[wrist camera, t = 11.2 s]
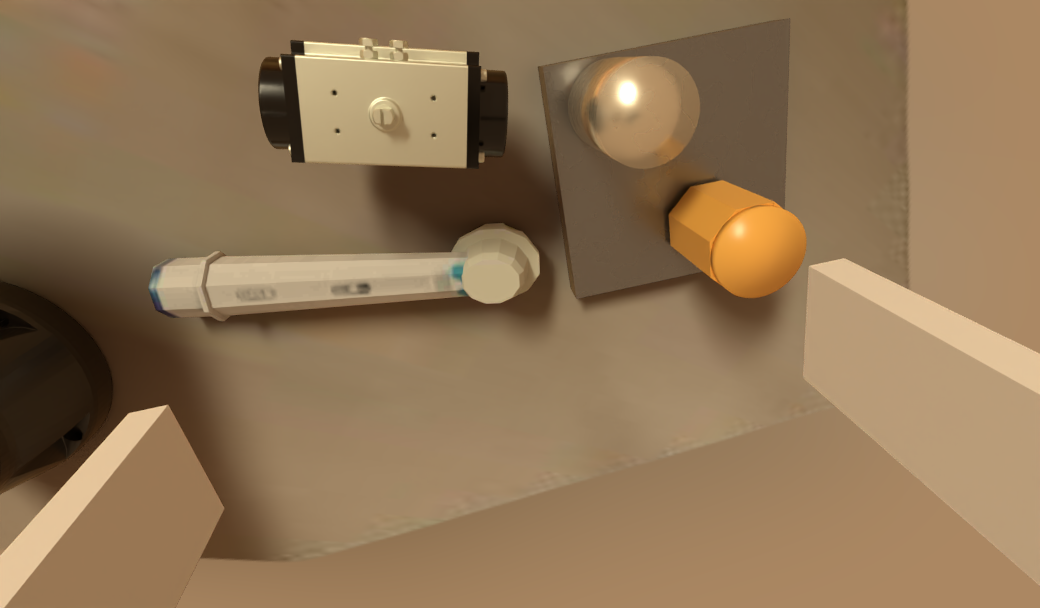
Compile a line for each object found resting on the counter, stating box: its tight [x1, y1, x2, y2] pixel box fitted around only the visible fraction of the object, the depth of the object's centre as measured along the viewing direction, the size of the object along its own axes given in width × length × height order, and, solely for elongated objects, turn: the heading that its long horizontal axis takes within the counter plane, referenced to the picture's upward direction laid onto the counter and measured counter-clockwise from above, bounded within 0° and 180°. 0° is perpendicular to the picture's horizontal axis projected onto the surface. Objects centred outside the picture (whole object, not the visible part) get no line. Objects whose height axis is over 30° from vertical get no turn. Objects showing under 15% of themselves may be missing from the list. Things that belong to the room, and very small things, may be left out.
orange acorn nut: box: [669, 180, 806, 298], centre depth 35 cm, size 6×6×7 cm
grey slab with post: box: [538, 19, 790, 299], centre depth 35 cm, size 16×16×9 cm
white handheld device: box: [148, 223, 540, 321], centre depth 37 cm, size 5×7×25 cm
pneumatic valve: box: [258, 38, 508, 169], centre depth 30 cm, size 6×12×12 cm, turn 87°
